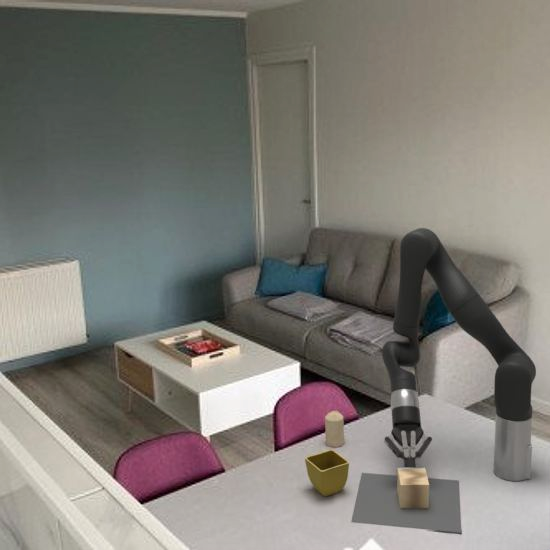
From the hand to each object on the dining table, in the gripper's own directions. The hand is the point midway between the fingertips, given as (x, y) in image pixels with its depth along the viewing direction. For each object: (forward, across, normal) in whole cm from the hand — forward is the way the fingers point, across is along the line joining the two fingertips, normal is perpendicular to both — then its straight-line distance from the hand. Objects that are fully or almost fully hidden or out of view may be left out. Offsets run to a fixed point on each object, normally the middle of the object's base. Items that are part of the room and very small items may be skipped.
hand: (410, 473), depth 179 cm
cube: (+1, 0, +1) cm, 2 cm away
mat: (+7, -1, +2) cm, 7 cm away
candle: (-16, -19, +26) cm, 35 cm away
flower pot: (+3, -22, +6) cm, 23 cm away
